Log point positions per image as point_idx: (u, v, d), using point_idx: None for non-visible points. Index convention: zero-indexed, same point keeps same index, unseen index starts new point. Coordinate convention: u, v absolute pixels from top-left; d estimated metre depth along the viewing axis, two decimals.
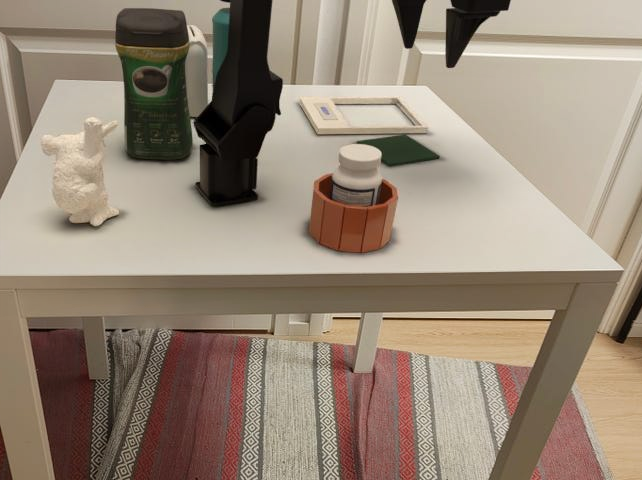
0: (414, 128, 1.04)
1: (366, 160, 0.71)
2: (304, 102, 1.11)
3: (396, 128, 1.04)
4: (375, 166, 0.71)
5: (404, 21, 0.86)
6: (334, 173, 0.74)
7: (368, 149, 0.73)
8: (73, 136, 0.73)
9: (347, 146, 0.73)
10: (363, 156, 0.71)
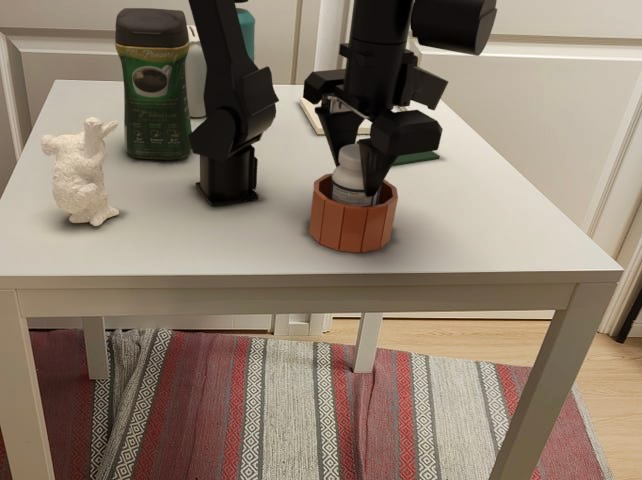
0: None
1: None
2: (304, 102, 1.11)
3: None
4: None
5: (336, 147, 0.74)
6: (334, 173, 0.74)
7: None
8: (73, 136, 0.73)
9: (347, 146, 0.73)
10: None
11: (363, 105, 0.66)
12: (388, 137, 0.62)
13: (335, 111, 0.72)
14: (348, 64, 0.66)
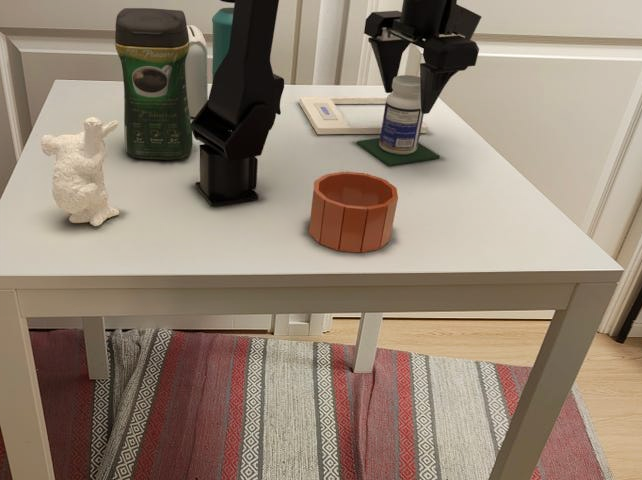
0: None
1: (415, 85, 0.91)
2: (304, 102, 1.11)
3: None
4: None
5: (384, 69, 0.95)
6: (388, 98, 0.94)
7: (415, 78, 0.93)
8: (73, 136, 0.73)
9: (398, 76, 0.93)
10: (413, 83, 0.91)
11: (416, 32, 0.86)
12: (438, 53, 0.82)
13: (385, 39, 0.93)
14: (405, 1, 0.85)
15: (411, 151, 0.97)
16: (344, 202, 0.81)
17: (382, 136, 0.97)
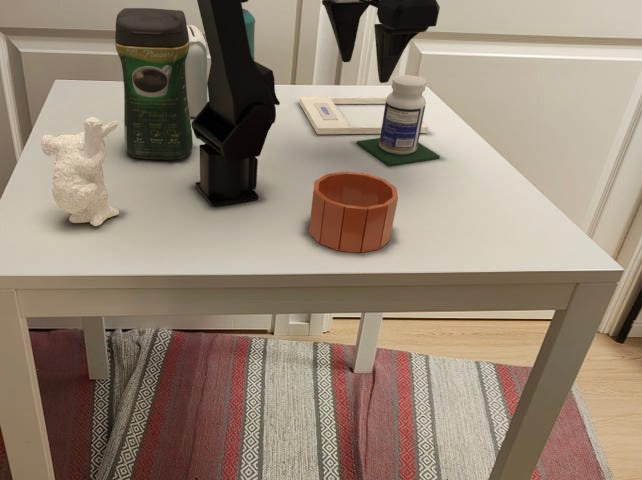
0: None
1: (414, 85, 0.91)
2: (304, 102, 1.11)
3: None
4: (421, 90, 0.91)
5: (340, 35, 0.86)
6: (388, 98, 0.94)
7: (415, 78, 0.93)
8: (73, 136, 0.73)
9: (398, 76, 0.93)
10: (412, 83, 0.91)
11: None
12: (393, 11, 0.72)
13: (340, 1, 0.84)
14: None
15: (411, 151, 0.97)
16: (344, 202, 0.81)
17: (382, 136, 0.97)
